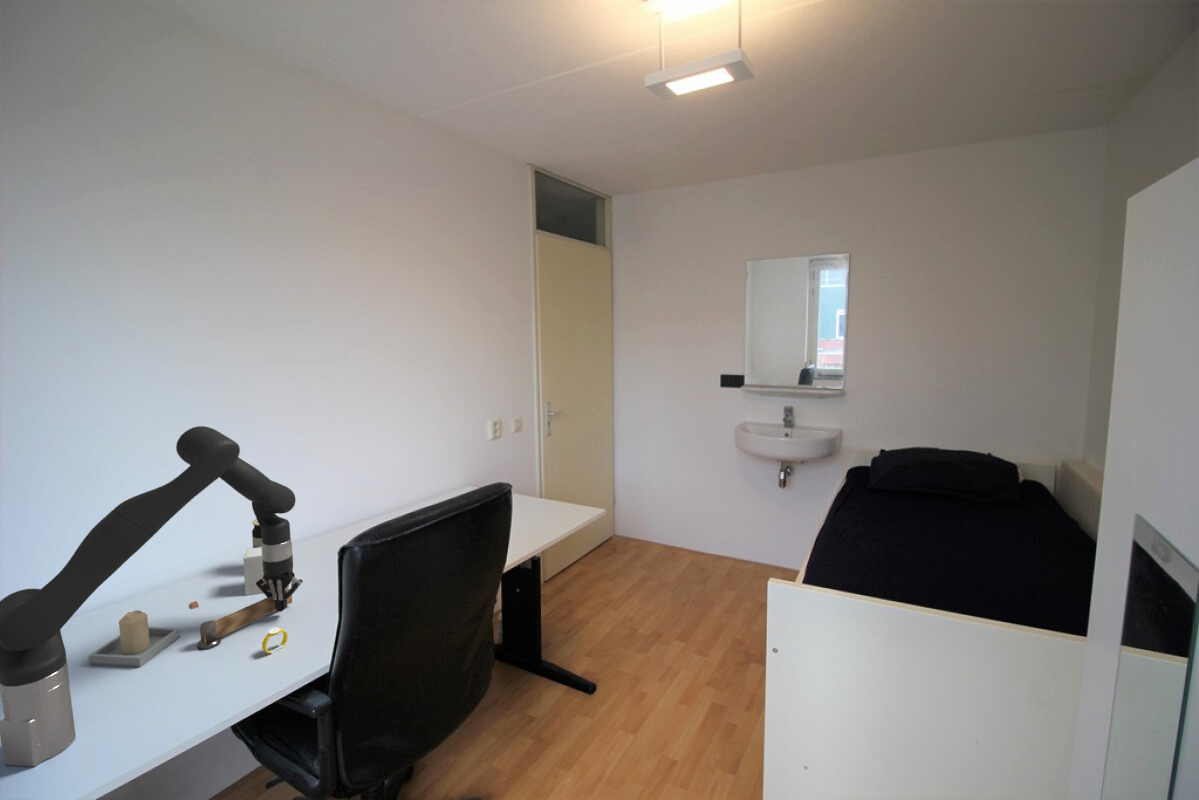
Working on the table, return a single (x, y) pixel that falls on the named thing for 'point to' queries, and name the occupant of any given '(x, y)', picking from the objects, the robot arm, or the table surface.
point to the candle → (134, 632)
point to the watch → (271, 633)
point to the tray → (115, 657)
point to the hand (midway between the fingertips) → (281, 609)
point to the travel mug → (256, 535)
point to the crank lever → (237, 619)
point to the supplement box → (253, 570)
